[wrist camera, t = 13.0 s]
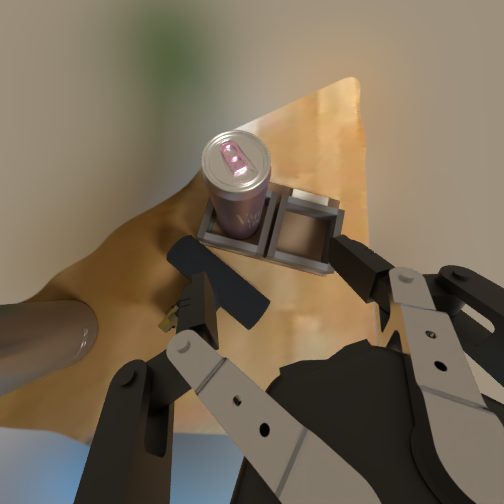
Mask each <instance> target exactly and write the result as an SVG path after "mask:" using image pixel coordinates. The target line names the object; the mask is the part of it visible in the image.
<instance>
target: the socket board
mask: <svg viewBox="0 0 504 504" xmlns="http://www.w3.org/2000/svg"><path fill="white" fill-rule="evenodd" d="M339 203H340V201H339V200H335V199H331V198H327V197H324V196H320V195H316V194H312V193H308V192H305V191H301V190H297V189H293V188H289V187H285V186H282V185H278V184H274V183H270V182H269V185H268V189H267V193H266V197H265V201H264V205H263V209H262V213H261V217H260V221H259V225H258V228H257V230H256V232H255V233H254V234H253V235H252V236H250V237H249V238H246V239H242V240H238V239H233V238H231V237H229V236H228V235H227V234H226V233H225V232H224V231H223V229H222V227H221V224H220V221H219V219H218V216H217V213H216V211H215V208H214V205H213V203H212V200H211V197H210V198H209V201H208V204H207V207H206V210H205V213H204V216H203V219H202V222H201V225H200V228H199V231H198V234H197V238H198V239H199V240H200V243H201V244H202V245H205V246H209V247H213V248H217V249H221V250H224V251H228V252H232V253H236V254H239V255H243V256H247V257H251V258H255V259H258V260H262V261H266V262H270V263H273V264H277V265H281V266H285V267H289V268H292V269H296V270H300V271H304V272H308V273H311V274H315V275H319V276H323V277H324V276H326V275H327V274H332V273H334V269H333V268H332V266H331V265H330V264H329V261H328V249H329V240H330V238H331V237H335V236H339V235H341V230H342V224H343V218H344V213H345V210H341V209H339Z"/></svg>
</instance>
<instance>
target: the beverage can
mask: <svg viewBox="0 0 504 504" xmlns="http://www.w3.org/2000/svg"><path fill="white" fill-rule="evenodd" d="M201 164H202V175H203V179H204V181H205V184H206V187H207V189H208V192H209V195H210V197H211V200H212V203H213V205H214V208H215V211H216V213H217V216H218V219H219V221H220V224H221V227H222V229H223V231H224V232H225V233H226V234H227V235H228V236H229V237H231V238H233V239H238V240H242V239H246V238H249V237H250V236H252V235H253V234H254V233H255V232H256V230H257V228H258V225H259V221H260V217H261V213H262V209H263V205H264V201H265V197H266V193H267V189H268V185H269V181H270V177H271V158H270V153H269V151H268V149H267V147H266V145H265V144H264V143H263V142H262V140H260V139H259V138H258V137H257V136H255V135H253V134H251V133H249V132H246V131H242V130H229V131H225V132H222V133H220V134H218V135H216V136H214V137H213V138H212V139H211V140H210V141H209V142H208V143H207V144H206V146H205V148H204V150H203V153H202V158H201Z"/></svg>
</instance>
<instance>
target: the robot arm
mask: <svg viewBox="0 0 504 504" xmlns="http://www.w3.org/2000/svg"><path fill="white" fill-rule="evenodd" d="M328 261H329V264H330V265H331V266H332V268H333V269H334V270H335V271H336V272H337V273H338V274H339V275H340V276H341V277H342V278H343V279H344V280H345V281H346V282H347V283H348V285H349V286H350V287H351V288H352V289H353V290H354V291H355V292H356V293H357V294H358V295H359V296H360V297H361V298H362V299H363V300H364V302H365V303H366V304H367V303H370V302H373V301H375V302H376V303H377V306H376V310H377V322H378V335H379V338H378V345H377V346H371V344H370V343H369V342H368V340H367V339H365V340H362V341H359V342H356V343H353V344H350V345H347V346H345V347H344V348H342V349H341V350H340V351H338V352H337V353H336V354H334V355H333V356H332V357H330V358H329V359H327V360H304V361H299V362H296V363H293V364H290V365H287V366H284V367H281V368H279V370H280V375H279V376H278V377H277V378H275V379H274V380H273V381H272V382H271V384H270V385H269V386H268V388H267V389H266V391H264V390H262V389H261V388H260V387H259V386H258V385H257V384H256V383H255V382H254V381H253V380H251V379H250V378H249V377H248V376H247V375H246V374H245V373H244V372H243V371H241V370H240V369H239V368H238V367H237V366H236V365H235V364H234V363H233V362H231V361H230V360H229V359H228V358H223V357H222V356H221V355H220V354H219V353H218V352H216V351H215V350H218V349H219V343H218V331H217V319H216V306H215V296H214V292H213V289H212V286H211V284H210V281H209V279H208V277H207V274H206V272H205V271H204V272H201V273H197V274H193V275H192V283H191V284H189V285H186V286H185V287H184V289H183V291H182V292H181V297H180V305H179V307H180V308H179V313H178V322H177V330H176V335H175V336H174V337H173V338H172V339H171V341H170V342H169V344H168V346H167V349H166V350H164V351H163V352H162V353H160V354H159V355H157V356H155V357H154V358H152V359H151V360H149V361H147V362H146V363H145V362H144V361H143V360H139V359H138V360H133V361H130V362H128V363H127V364H125V365H124V366H123V367H122V368H120V369H119V370H118V372H117V373H116V374H115V375H114V377H113V379H112V381H111V383H110V385H109V389H108V392H107V395H106V399H105V402H104V405H103V408H102V412H101V415H100V418H99V421H98V425H97V428H96V431H95V435H94V438H93V441H92V444H91V448H90V451H89V454H88V457H87V461H86V464H85V467H84V471H83V474H82V477H81V480H80V484H79V487H78V490H77V493H76V497H75V500H74V503H73V504H169V503H170V485H171V484H170V483H171V464H172V443H173V422H174V401H175V400H177V399H178V398H179V397H181V396H182V395H183V394H185V393H186V392H187V391H189V390H190V389H191V388H192V389H193V390H194V391H195V393H196V395H197V396H198V397H199V399H200V400H201V401H202V402H203V404H204V405H205V406H206V408H207V409H208V410H209V411H210V413H211V414H212V415H213V416H214V418H215V419H216V420H217V421H218V423H219V424H220V425H221V426H222V428H223V429H224V430H225V431H226V433H227V434H228V435H229V437H230V438H231V439H232V440H233V441H234V443H235V444H236V445H237V446H238V448H239V449H240V450H241V452H242V453H243V454H244V458H243V462H242V465H241V468H240V472H239V475H238V478H237V482H236V485H235V488H234V491H233V495H232V498H231V502H230V504H504V404H502V403H500V402H498V401H496V400H494V399H492V398H490V397H488V396H486V395H484V394H482V393H480V391H479V389H478V386H477V384H476V381H475V379H474V376H473V374H472V371H471V369H470V367H469V364H468V362H467V359H466V357H465V355H464V352H465V353H467V354H468V355H469V356H470V357H471V358H472V359H473V360H474V361H475V362H476V363H478V364H479V365H480V366H481V367H482V368H483V369H484V370H485V371H486V372H487V373H489V374H490V375H491V376H492V377H493V378H494V379H495V380H496V381H497V382H498V383H500V384H501V385H502V386H503V387H504V288H502V287H500V286H499V285H497V284H495V283H493V282H492V281H490V280H488V279H486V278H484V277H483V276H481V275H479V274H477V273H476V272H474V271H472V270H470V269H467V268H464V267H460V266H454V265H448V266H444V267H442V268H441V269H440V271H439V272H438V274H423V275H421V274H420V273H418V272H417V271H415V270H412V269H409V268H405V267H394V266H393V265H392V264H390V263H389V262H387V261H386V260H385V259H383V258H382V257H380V256H379V255H378V254H376V253H374V252H373V251H372V250H371V249H369V248H368V247H367V246H365V245H364V244H362V243H360V242H357V241H355V240H351V239H349V238H348V237H347V236H345V235H343V234H342V235H339V236H335V237H331V238H330V240H329V249H328ZM465 304H467V305H469V306H470V307H471V308H473V309H474V310H476V311H477V312H479V313H480V314H481V315H483V316H484V317H486V318H487V319H488V320H490V321H491V322H492V324H493V325H494V328H495V331H494V332H493V333H491V332H490V331H489V330H487V329H486V328H485V327H483V326H482V325H481V324H479V323H478V322H476V321H475V320H474V319H473V318H471V317H470V316H469V315H467V314H466V313H465V312H463V311H462V310H461V309H462V308H463V306H464V305H465ZM96 335H97V320H96V317H95V314H94V313H93V311H92V310H91V308H89V307H88V306H87V305H86V304H84V303H82V302H80V301H76V300H57V301H44V302H31V303H18V304H6V305H0V397H2V396H5V395H7V394H9V393H11V392H13V391H15V390H18V389H20V388H22V387H24V386H26V385H28V384H31V383H33V382H35V381H37V380H39V379H42V378H44V377H46V376H48V375H50V374H53V373H55V372H57V371H59V370H61V369H63V368H66V367H68V366H70V365H72V364H74V363H76V362H77V361H79V360H81V359H82V358H83V357H84V356H85V355H86V354H87V353H88V352H89V350H90V349H91V347H92V345H93V344H94V342H95V339H96ZM463 351H464V352H463Z"/></svg>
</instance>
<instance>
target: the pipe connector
mask: <svg viewBox="0 0 504 504" xmlns="http://www.w3.org/2000/svg"><path fill="white" fill-rule="evenodd" d="M167 261H168V262H169V263H171V264H172V265H173V266H174V267H175V268H176V269H178V270H179V271H180V272H181V273H182V274H183V275H185V276H186V277H187V278H188V279H189V280H190V281H192V275H193V274H197V273H201V272H204V271H205V272H206V274H207V277H208V279H209V281H210V284H211V286H212V289H213V292H214V296H215V306H216V311H217V310H218V309H219V307H220V306H221V307H222V308H223V309H224V310H226V311H227V312H228V313H229V314H230V315H231V316H233V317H234V318H235V319H236V320H237V321H238V322H240V323H241V324H242V325H243V326H244V327H245V328H247V329H248V330H249V329H251V328H252V327H253V326H254V325H255V324H256V323H257V322H258V321H259V319H260V318H261V317H262V315H263V314H264V312H265V311H266V309H267V308H268V306H269V304H270V300H269V299H267V298H266V297H265V296H264V295H262V294H261V293H260V292H259V291H258V290H256V289H255V288H254V287H253V286H252V285H250V284H249V283H248V282H247V281H246V280H244V279H243V278H242V277H241V276H240V275H238V274H237V273H236V272H235V271H234V270H232V269H231V268H230V267H229V266H227V265H226V264H225V263H224V262H223V261H221V260H220V259H219V258H218V257H217V256H215V255H214V254H213V253H212V252H211V251H209V250H208V249H207V248H206V247H205V246H203V245H202V244H201V243H200V242H198V241H197V240H196V239H195V238H194V237H192V236H191V235H188V236H185V237H183V238H182V239H180V240H179V241H178V242H177V243H176V244H175V245H174V246H173V247H172V248H171V249H170V251H169V253H168V255H167ZM179 305H180V299H179V301H178V302H177V303H176V304H175V305H174V306H172V307H171V308H170V309H169V310H168V311H167V316H166V317H165V318H164V319H163V320H162V321H161V323H160V324H159V325H158V327H159V328H160V329H162V330H163V331H164V332H165V333H166V332H168V331H170V329H171V328H175V327H176V328H177V322H178V313H179V308H180V307H179Z"/></svg>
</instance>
